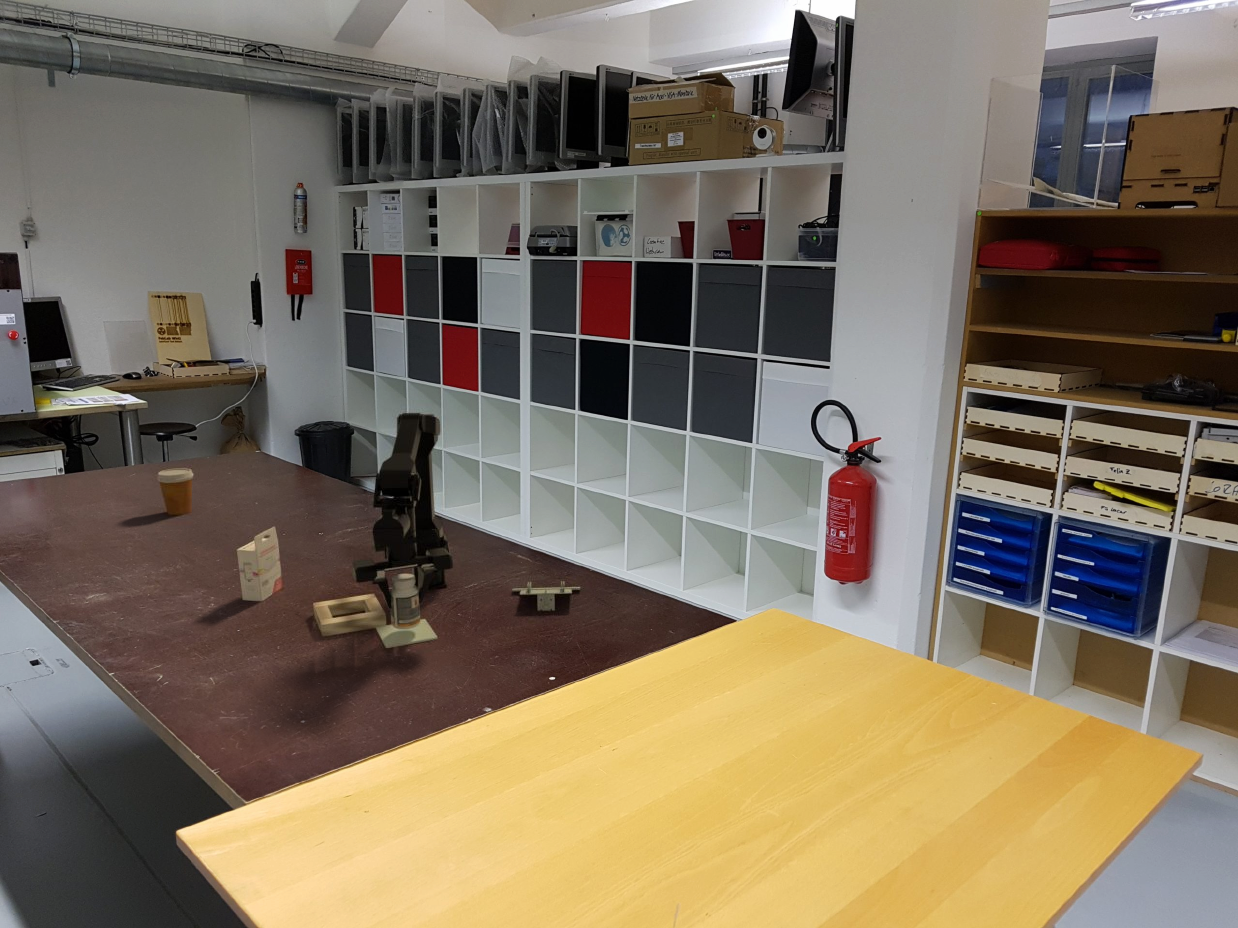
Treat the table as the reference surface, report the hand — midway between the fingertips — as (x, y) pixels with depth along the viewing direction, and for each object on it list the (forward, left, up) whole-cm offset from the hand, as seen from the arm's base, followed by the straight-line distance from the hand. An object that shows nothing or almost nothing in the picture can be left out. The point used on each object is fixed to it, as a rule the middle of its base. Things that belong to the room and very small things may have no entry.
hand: (404, 605), depth 183 cm
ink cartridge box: (+24, -35, -6) cm, 43 cm away
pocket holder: (+9, -12, -6) cm, 16 cm away
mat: (0, 0, -6) cm, 6 cm away
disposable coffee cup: (+40, -113, -6) cm, 120 cm away
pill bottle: (0, 0, -4) cm, 4 cm away
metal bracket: (-32, -5, -7) cm, 33 cm away
